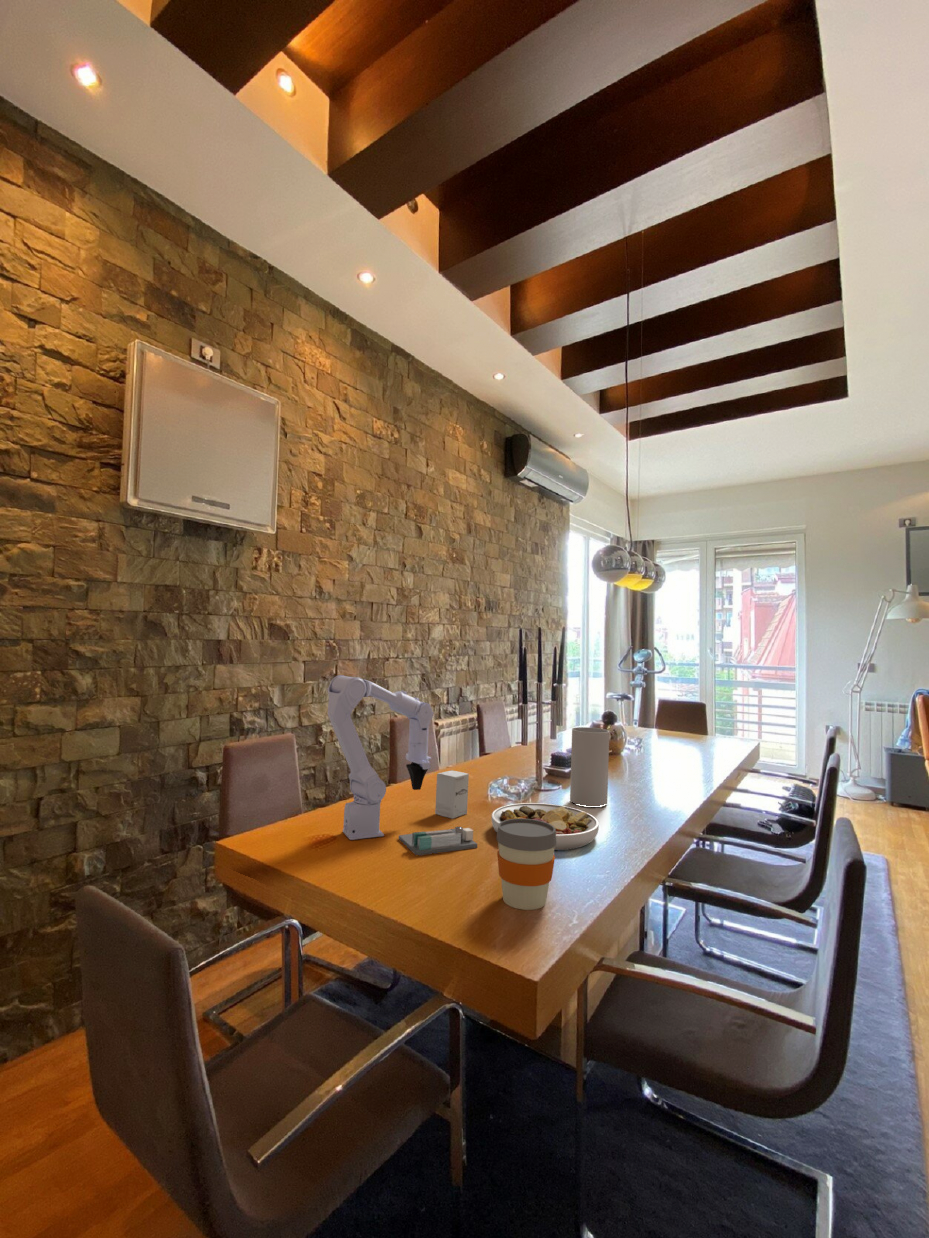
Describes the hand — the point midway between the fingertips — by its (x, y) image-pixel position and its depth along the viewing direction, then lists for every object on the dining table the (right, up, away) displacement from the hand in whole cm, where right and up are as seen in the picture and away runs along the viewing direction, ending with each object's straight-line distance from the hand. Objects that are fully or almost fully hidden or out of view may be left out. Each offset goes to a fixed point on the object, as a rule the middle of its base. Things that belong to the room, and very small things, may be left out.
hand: (416, 789), depth 169 cm
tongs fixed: (+8, -8, -21) cm, 23 cm away
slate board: (+7, -10, -16) cm, 20 cm away
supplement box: (+10, -11, +10) cm, 18 cm away
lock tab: (+15, -9, -16) cm, 23 cm away
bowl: (+37, -12, -6) cm, 39 cm away
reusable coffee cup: (+27, -9, -48) cm, 56 cm away
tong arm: (+6, -8, -20) cm, 22 cm away
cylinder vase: (+57, -14, +29) cm, 65 cm away
